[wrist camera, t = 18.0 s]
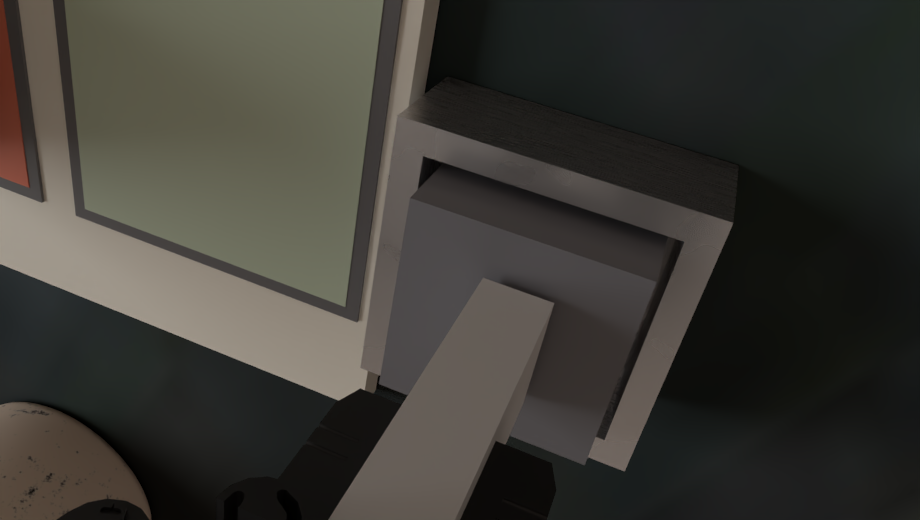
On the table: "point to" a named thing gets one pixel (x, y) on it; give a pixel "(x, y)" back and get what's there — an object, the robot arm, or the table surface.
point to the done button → (531, 271)
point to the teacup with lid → (57, 465)
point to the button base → (580, 184)
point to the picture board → (211, 165)
